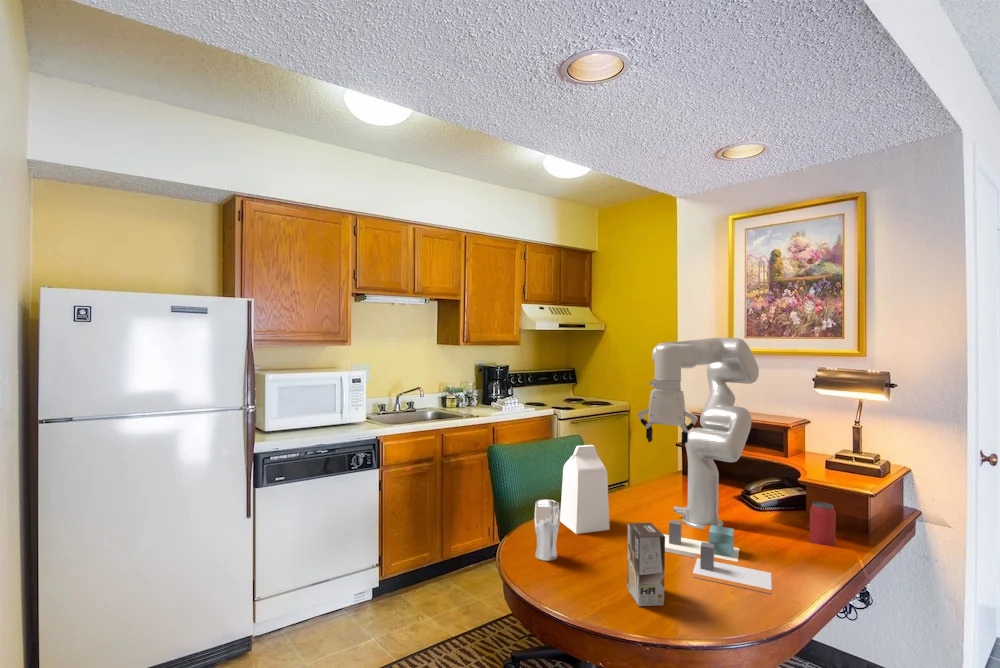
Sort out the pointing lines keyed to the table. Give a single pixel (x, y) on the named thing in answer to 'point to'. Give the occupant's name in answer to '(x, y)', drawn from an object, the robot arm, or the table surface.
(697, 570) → the empty strip
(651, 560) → the coffee box
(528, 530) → the table surface
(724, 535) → the block
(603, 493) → the milk
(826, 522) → the beer can
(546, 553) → the beer glass
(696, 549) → the strip
